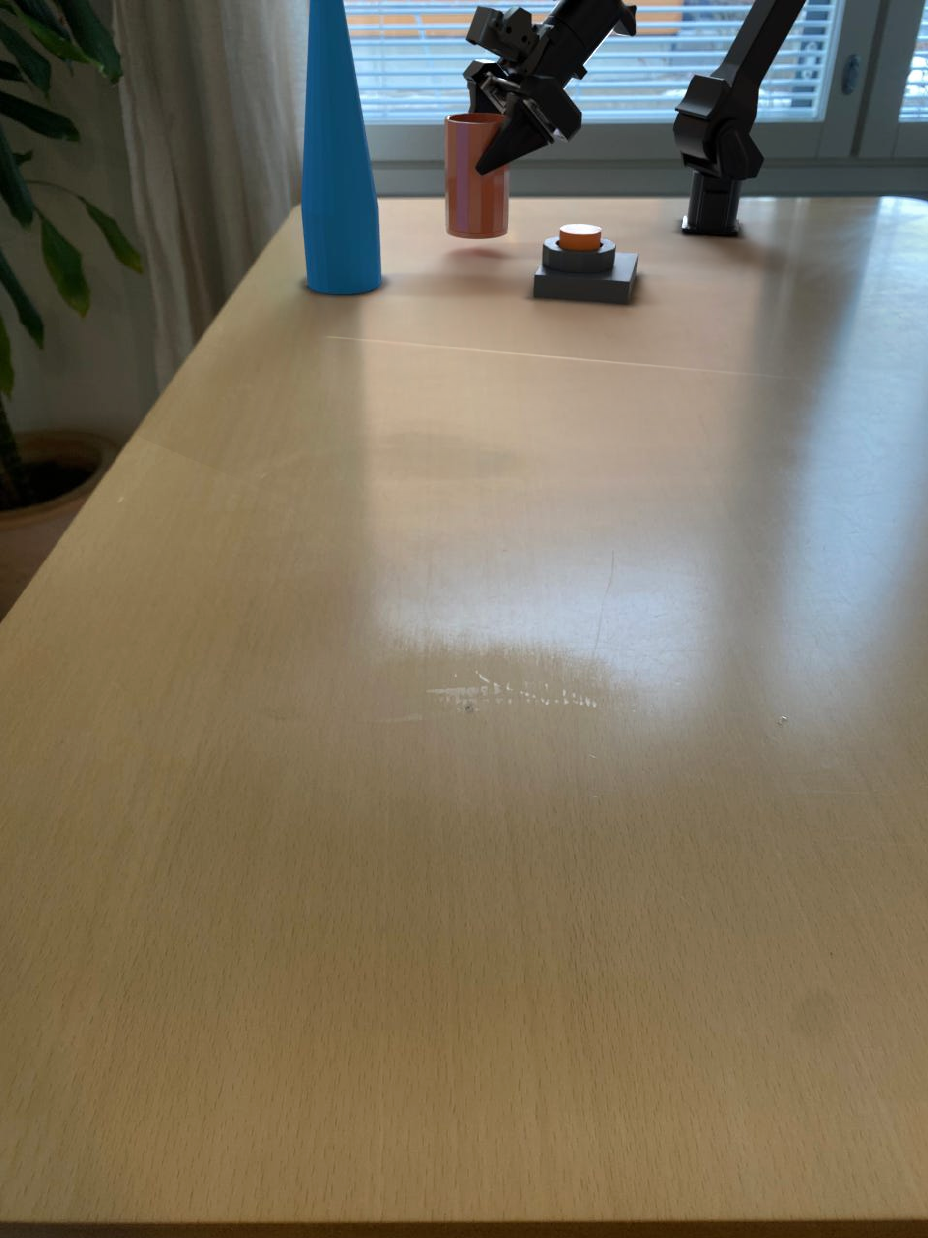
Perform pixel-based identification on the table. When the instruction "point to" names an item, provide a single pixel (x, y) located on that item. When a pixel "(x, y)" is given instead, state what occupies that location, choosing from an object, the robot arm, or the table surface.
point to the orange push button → (580, 237)
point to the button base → (585, 273)
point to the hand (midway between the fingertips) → (465, 165)
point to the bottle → (336, 164)
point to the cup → (474, 179)
